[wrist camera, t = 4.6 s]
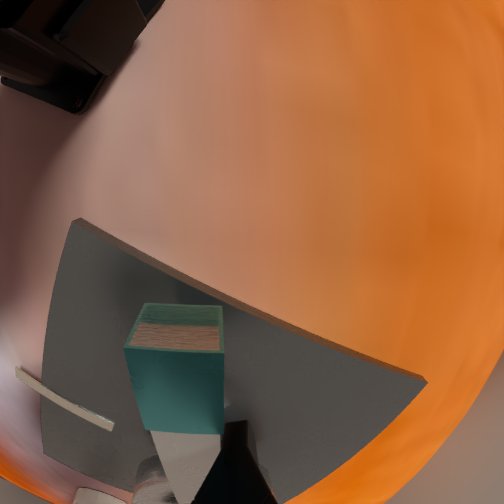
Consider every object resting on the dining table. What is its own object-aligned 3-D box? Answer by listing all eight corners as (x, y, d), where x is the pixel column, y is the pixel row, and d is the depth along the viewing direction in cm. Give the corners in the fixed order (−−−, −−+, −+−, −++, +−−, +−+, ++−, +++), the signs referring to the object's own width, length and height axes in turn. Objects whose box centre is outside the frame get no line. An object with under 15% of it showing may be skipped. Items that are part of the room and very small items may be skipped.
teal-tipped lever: (264, 500, 14) (270, 533, 11) (151, 497, 13) (149, 530, 10) (312, 292, 9) (351, 346, 6) (72, 284, 8) (25, 330, 5)
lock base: (27, 435, 14) (18, 454, 11) (47, 198, 9) (14, 206, 7) (259, 510, 19) (262, 527, 17) (422, 376, 15) (440, 397, 13)
